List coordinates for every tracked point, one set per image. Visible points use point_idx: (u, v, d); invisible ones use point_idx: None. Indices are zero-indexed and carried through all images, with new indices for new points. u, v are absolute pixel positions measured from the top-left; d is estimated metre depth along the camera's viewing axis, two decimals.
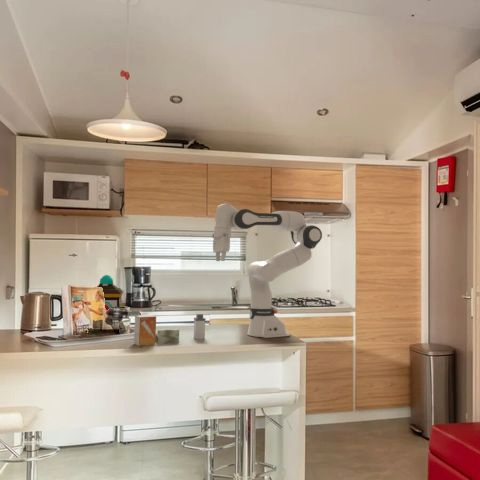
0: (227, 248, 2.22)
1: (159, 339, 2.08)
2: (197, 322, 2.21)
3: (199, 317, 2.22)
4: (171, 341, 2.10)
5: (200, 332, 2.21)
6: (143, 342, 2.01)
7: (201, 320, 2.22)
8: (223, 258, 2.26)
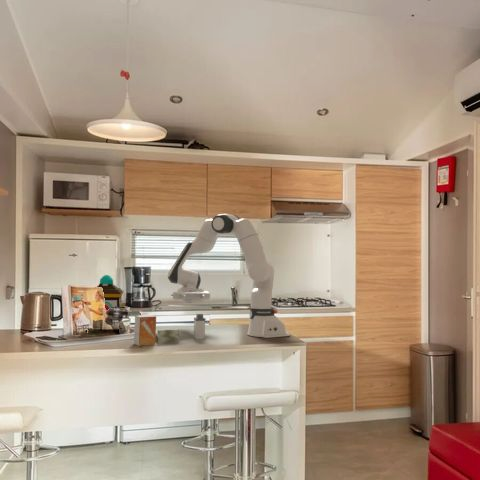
0: (173, 294, 2.38)
1: (159, 339, 2.08)
2: (197, 322, 2.21)
3: (199, 317, 2.22)
4: (171, 341, 2.10)
5: (200, 332, 2.21)
6: (143, 342, 2.01)
7: (201, 320, 2.22)
8: (183, 296, 2.35)
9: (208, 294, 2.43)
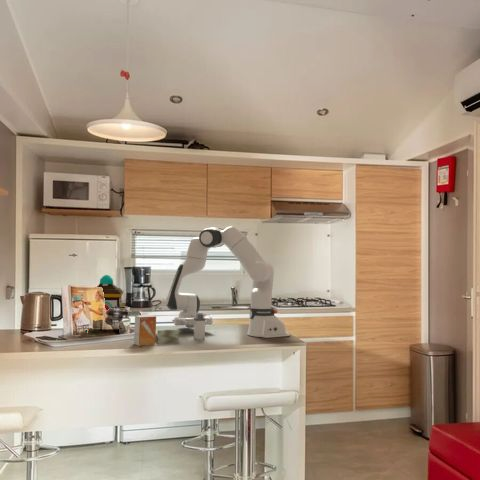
0: (174, 320, 2.33)
1: (159, 339, 2.08)
2: (197, 322, 2.21)
3: (199, 317, 2.22)
4: (171, 341, 2.10)
5: (200, 332, 2.21)
6: (143, 342, 2.01)
7: (201, 320, 2.22)
8: (185, 322, 2.30)
9: (210, 319, 2.38)
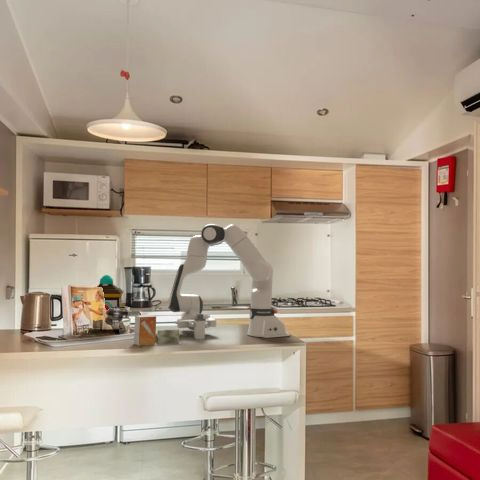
0: (177, 323, 2.25)
1: (159, 339, 2.08)
2: (197, 322, 2.21)
3: (199, 317, 2.22)
4: (171, 341, 2.10)
5: (200, 332, 2.21)
6: (143, 342, 2.01)
7: (201, 320, 2.22)
8: (192, 324, 2.23)
9: (214, 321, 2.30)
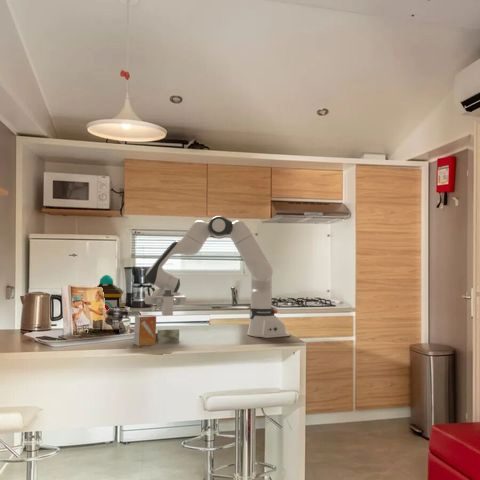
0: (145, 299, 2.17)
1: (159, 339, 2.08)
2: (165, 298, 2.12)
3: (167, 293, 2.14)
4: (171, 341, 2.10)
5: (167, 309, 2.13)
6: (143, 342, 2.01)
7: (169, 296, 2.13)
8: (159, 300, 2.14)
9: (184, 298, 2.21)
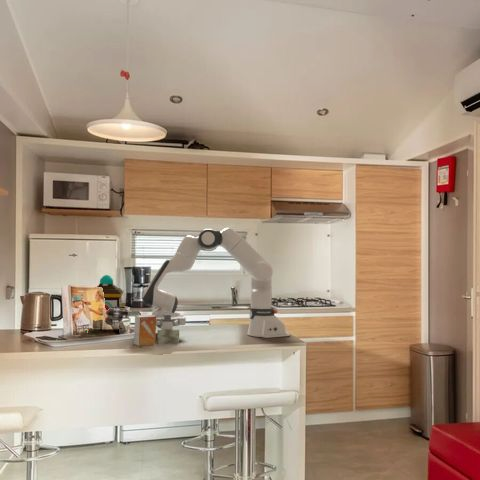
0: None
1: (159, 339, 2.08)
2: (164, 323, 2.12)
3: (166, 318, 2.13)
4: (171, 341, 2.10)
5: None
6: (143, 342, 2.01)
7: (168, 321, 2.12)
8: (156, 322, 2.13)
9: (183, 319, 2.21)
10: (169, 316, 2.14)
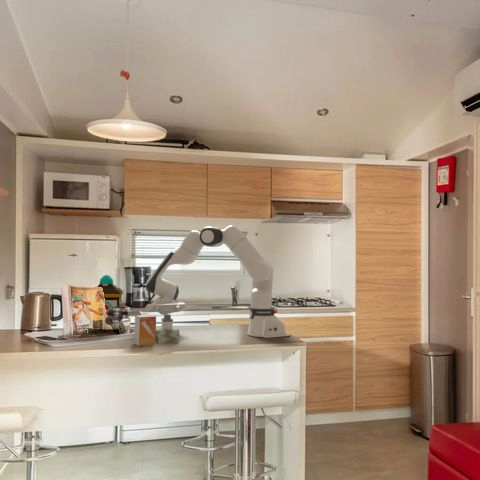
0: (146, 307, 2.30)
1: (159, 339, 2.08)
2: (164, 323, 2.12)
3: (166, 318, 2.13)
4: (171, 341, 2.10)
5: None
6: (143, 342, 2.01)
7: (168, 321, 2.12)
8: (157, 308, 2.27)
9: (183, 305, 2.35)
10: (169, 316, 2.14)
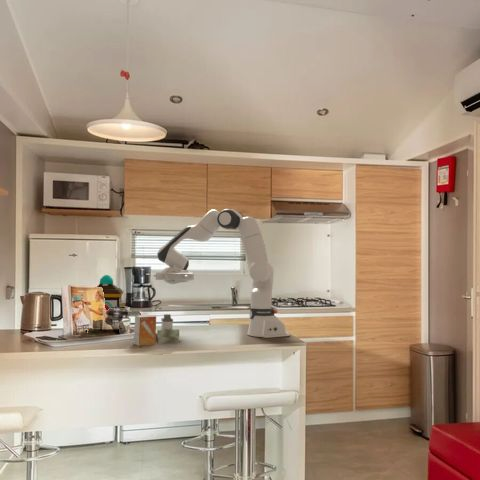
0: (155, 275, 2.34)
1: (159, 339, 2.08)
2: (164, 323, 2.12)
3: (166, 318, 2.13)
4: (171, 341, 2.10)
5: None
6: (143, 342, 2.01)
7: (168, 321, 2.12)
8: (166, 276, 2.30)
9: (191, 274, 2.38)
10: (169, 316, 2.14)
